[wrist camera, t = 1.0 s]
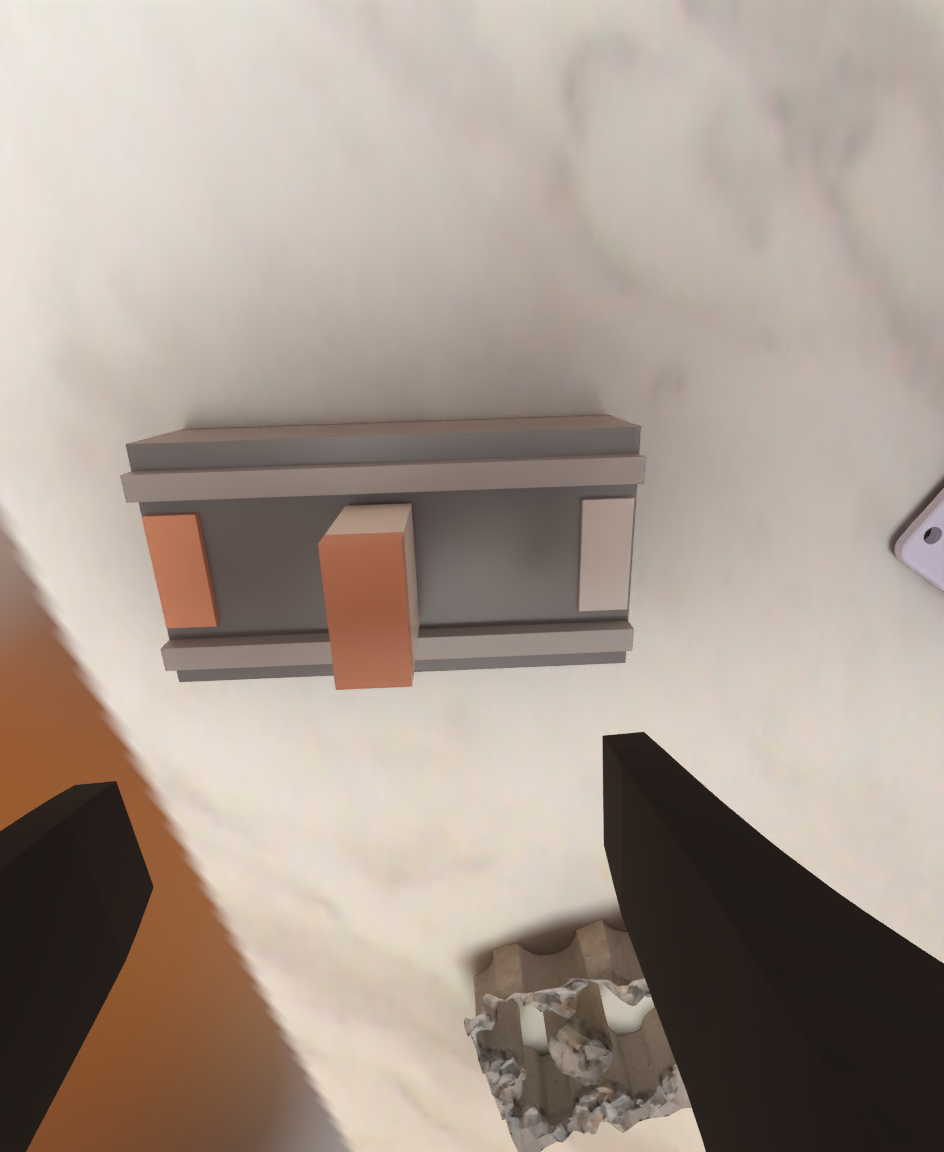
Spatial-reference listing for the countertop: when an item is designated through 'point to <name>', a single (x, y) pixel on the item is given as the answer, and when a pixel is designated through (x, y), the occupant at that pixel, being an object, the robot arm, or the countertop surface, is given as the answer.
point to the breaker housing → (440, 525)
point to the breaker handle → (371, 595)
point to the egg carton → (571, 1041)
